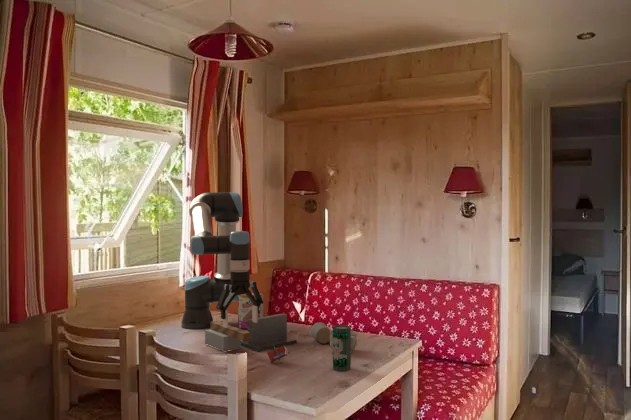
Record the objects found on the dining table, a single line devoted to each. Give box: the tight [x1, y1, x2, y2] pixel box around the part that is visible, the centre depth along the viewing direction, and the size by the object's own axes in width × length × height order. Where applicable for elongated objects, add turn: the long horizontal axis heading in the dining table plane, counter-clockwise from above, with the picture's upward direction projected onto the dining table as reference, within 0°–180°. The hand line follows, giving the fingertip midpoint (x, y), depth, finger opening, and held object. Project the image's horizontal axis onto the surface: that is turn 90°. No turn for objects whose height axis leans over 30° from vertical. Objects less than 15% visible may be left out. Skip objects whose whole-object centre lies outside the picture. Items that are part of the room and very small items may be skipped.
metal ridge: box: [241, 313, 298, 353], centre depth 224 cm, size 14×20×12 cm
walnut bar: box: [209, 320, 251, 341], centre depth 216 cm, size 26×3×3 cm, turn 40°
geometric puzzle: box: [266, 345, 289, 365], centre depth 198 cm, size 7×7×8 cm
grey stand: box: [204, 328, 242, 352], centre depth 221 cm, size 15×8×6 cm, turn 40°
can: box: [332, 324, 352, 372], centre depth 191 cm, size 6×6×15 cm
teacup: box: [329, 329, 358, 353], centre depth 211 cm, size 14×11×8 cm
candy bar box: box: [237, 292, 264, 330], centre depth 251 cm, size 11×5×16 cm, turn 74°
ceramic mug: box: [310, 322, 331, 345], centre depth 227 cm, size 11×8×8 cm
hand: (240, 324), depth 210 cm, fingers open, 13 cm apart
